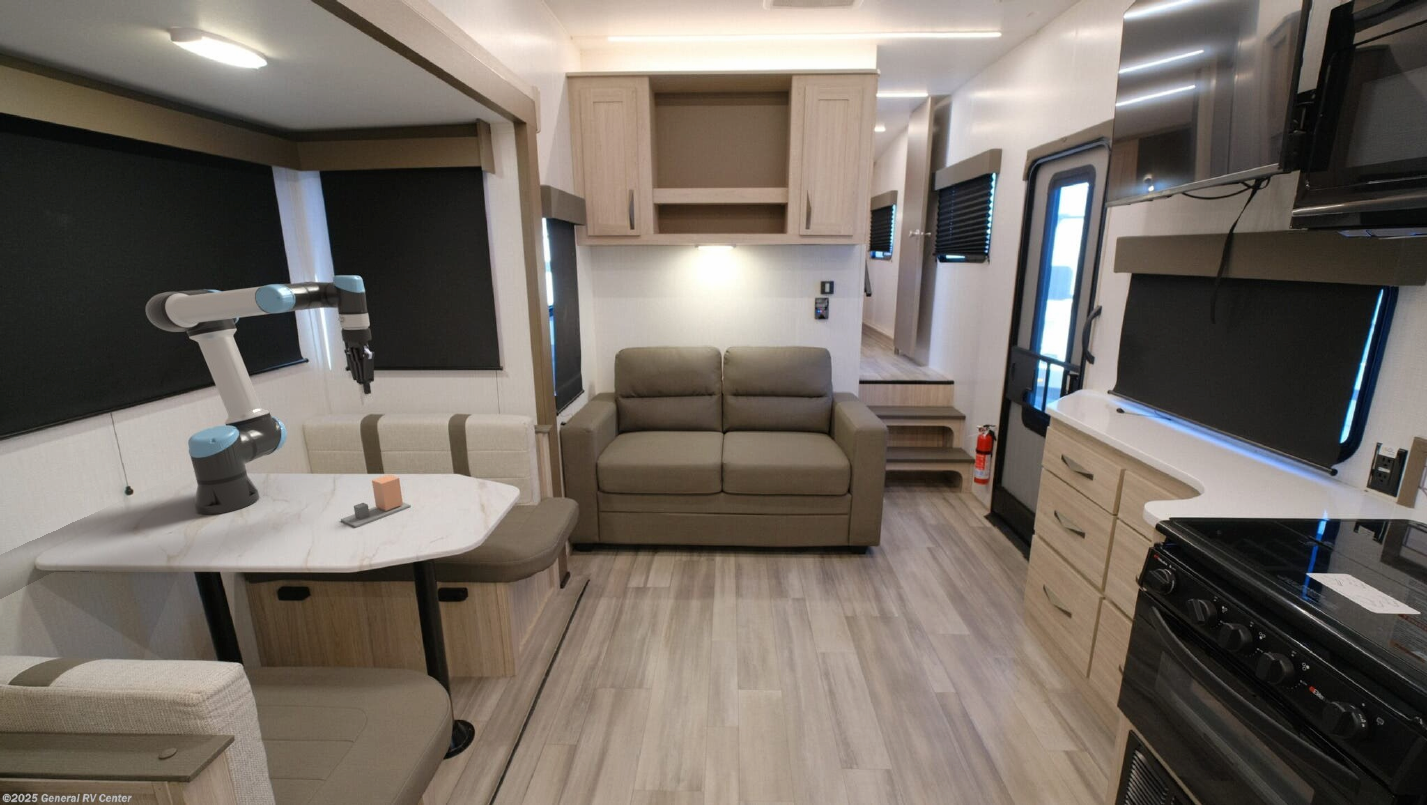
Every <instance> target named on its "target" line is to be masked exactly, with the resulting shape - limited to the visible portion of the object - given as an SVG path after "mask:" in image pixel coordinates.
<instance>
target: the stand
mask: <svg viewBox="0 0 1427 805" xmlns="http://www.w3.org/2000/svg"><path fill="white" fill-rule="evenodd" d="M411 506H412V505H411V504H409V503H406V502H403V505H400V506H398V507H395V508H392V509H390V510H387V511H385V510H382V509H380V508H377V507H376V506H373V507H370V508H369V504H368V503H365V502H361V503H358V504H355V505H353V512H354V514H351V515H347V516H345V517H343V518H340V521H341V522H342V523H344V524H346V525H349V526H352V527H354V528H359V527H361V526H364V525H367V524H369V523H372V522H375V521H377V520H381V519H382V518H386V517H388V516H391V515H394V514H396V513H399V512H401V511H404V510H406V509H409V508H411Z"/></svg>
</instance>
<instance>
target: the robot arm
mask: <svg viewBox="0 0 1427 805" xmlns="http://www.w3.org/2000/svg"><path fill="white" fill-rule="evenodd" d="M363 280H364V279H363V278H362V277H361V276H360V275H346V274H345V275H334V276H333V278H332V281H330V282H326V281H325V282H323V281H311V280H310V281H302V282H297V283H295V282H294V283H280V284H279V283H273V284H272V283H271V284H267V285H263V286H256V287H248V288H239V289H231V290H224V291H221V290H217V289H205V288H203V289H192V290H180V291H166V292H162V293H158V294H155V295H153V296H152V297H151V298H150V299H149V300H148V301H147V303H146V305H145V315H146V317H147V319H148V320H149V322H150V323H151V324H152V325H154V326H155V327H156V328H158V329H161V330H164V331H166V332H173V333H176V332H177V333H179V332H186V333H187V336H188V338H189V339H190V340H192V341H195V342H197V343H198V345H199V348H200V350H201V353H202V355H203V357H204V360H205V362H206V364H207V367H208V369H209V372H210V375H211V378H212V380H213V382H214V384H215V386H216V389H217V391H218V393H219V394H218V395H219V396H220V399H221V400H222V403H223V406H224V408H225V411H226V413H227V416H228V417H227V418H226V420H225V422H224V424H225V425H219V426H214V427H211V428H206V429H203V430H200V431H198V432H196V433H194V434H192V436H190V437H189V438H188V441H187V445H188V453H189V456H190V460H191V462H192V467H193V470H194V471H193V472H194V476H195V479H196V482H197V483H196V484H197V489H196V493H195V498H194V503H193V506H194V509H195V512H196V513H198V514H201V515H216V514H217V515H218V514H225V513H228V512H233V511H237V510H240V509H243V508H246V507H249V506H250V505H252V504H254V503H256V502H257V501H259V500H260V494H259V493H260V492H259V490H258V489H257V487H256V485H255V484H254V483H253V482H252V479H251V478H249V476H248V473H247V472H248V471H247V466H246V464H248V463H250V462H253V461H256V460H258V459H259V458H262V457H264V456H269V455H272V454H273V453H275V452H276V451H279V450H280V449H282V447H283V446H284V445H285V443H286V440H287V436H288V432H287V428H286V426H285V424H284V423H283V421H282V420H279V418H278V417H275V416H272V415H271V412H270V411H269V410H267V409H264V408H262V405H261V402H260V400H259V398H258V395H257V392H256V391H255V388H254V385H253V383H252V380H251V377H250V375H249V373H248V370H247V367H246V365H245V363H244V360H243V357H242V354H241V353H240V350H239V347H238V345H237V343H236V340H235V337H234V335H235V334H236V332H237V327H236V324H237V323H238V321H239V319H240V318H246V317H253V316H261V315H262V316H263V315H269V314H280V313H281V314H282V313H287V312H289V313H290V312H294V311H295V312H296V311H304V310H313V309H323V308H324V309H325V308H326V309H327V308H328V309H331V308H333V309H336V308H337V314H338V318H337V319H338V321H339V324H340V328H342V329H341V330H340V333H341V338H342V342H345V343H347V344H348V345H347V347H348V348H346V349H345V348H344V351H343V352H344V354H345V356H346V358H347V359H346V360H347V363H348V365H349V370H350V372H351V376H352V380H353V381H354V382H355V381H356V383H357V386H358V392H359V396H360V397H359V399H360V404H361V405H363V406H366V405H371V404H373V403H374V402H373V401H374V400H373V395H372V389H371V383H373V382H374V381H375V363H374V362H375V360H374V359H375V356H376V355H375V352H374V351H370V346H369V343H368V341H371V340H372V333H371V332H372V331H371V328H370V316H369V312H368V309H367V308H368V306H367V298H366V289H365V286H364V281H363Z"/></svg>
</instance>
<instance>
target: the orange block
mask: <svg viewBox="0 0 1427 805" xmlns="http://www.w3.org/2000/svg"><path fill="white" fill-rule="evenodd" d="M371 483H372V489H373V490H372V491H373V497H374V503H375V507H377V508H380V509H382V510H385V511H387V510H390V509H392V508H395V507H398V506H400V505H403V496H402V489H401V482H400V477H397V476H395V475H394V476H393V475H392V474H387V475H384V476H381V477H378V478H375V479H372V480H371Z"/></svg>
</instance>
